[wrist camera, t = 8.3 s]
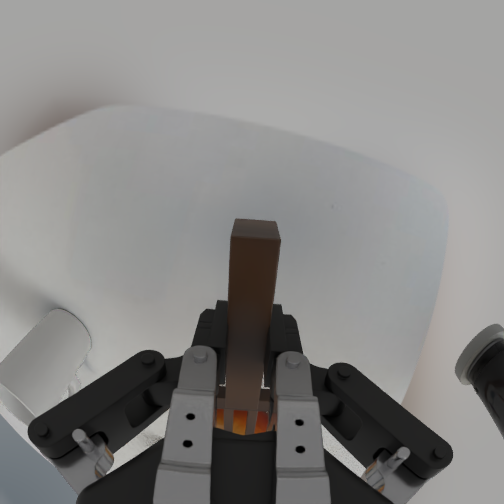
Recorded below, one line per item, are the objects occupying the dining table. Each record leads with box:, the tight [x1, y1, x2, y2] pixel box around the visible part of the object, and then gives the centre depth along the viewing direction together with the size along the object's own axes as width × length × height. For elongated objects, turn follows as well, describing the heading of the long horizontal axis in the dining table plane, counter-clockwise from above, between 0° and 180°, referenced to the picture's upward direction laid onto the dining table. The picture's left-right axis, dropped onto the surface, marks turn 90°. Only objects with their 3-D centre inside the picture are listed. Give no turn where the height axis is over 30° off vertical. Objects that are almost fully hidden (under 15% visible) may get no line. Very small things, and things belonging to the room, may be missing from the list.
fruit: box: [216, 409, 268, 435], centre depth 25 cm, size 8×8×8 cm
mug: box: [0, 309, 91, 427], centre depth 19 cm, size 10×7×12 cm, turn 7°
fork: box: [217, 218, 281, 435], centre depth 14 cm, size 16×5×2 cm, turn 176°
